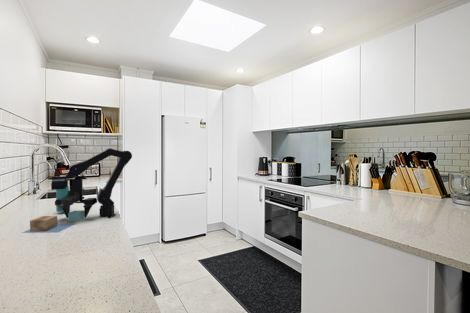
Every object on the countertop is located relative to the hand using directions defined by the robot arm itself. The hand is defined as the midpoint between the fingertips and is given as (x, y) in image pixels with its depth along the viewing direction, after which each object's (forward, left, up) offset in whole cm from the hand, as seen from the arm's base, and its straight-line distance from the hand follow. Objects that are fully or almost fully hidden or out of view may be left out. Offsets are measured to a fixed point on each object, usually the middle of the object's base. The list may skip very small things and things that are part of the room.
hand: (76, 217), depth 124 cm
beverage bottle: (+18, -16, -2) cm, 24 cm away
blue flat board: (+4, +13, -2) cm, 14 cm away
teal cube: (0, 0, -2) cm, 2 cm away
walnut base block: (+6, +14, -1) cm, 15 cm away
